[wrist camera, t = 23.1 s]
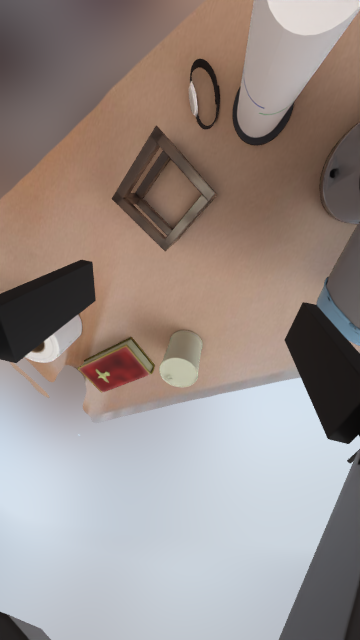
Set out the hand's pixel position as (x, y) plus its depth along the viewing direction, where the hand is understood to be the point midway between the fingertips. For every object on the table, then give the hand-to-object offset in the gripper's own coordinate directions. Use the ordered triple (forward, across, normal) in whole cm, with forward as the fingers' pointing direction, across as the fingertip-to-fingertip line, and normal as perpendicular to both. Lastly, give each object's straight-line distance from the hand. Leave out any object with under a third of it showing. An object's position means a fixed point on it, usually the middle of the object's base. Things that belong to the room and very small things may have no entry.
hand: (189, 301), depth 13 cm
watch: (+35, -5, +19) cm, 40 cm away
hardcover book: (+35, -21, -43) cm, 59 cm away
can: (+35, -1, -30) cm, 46 cm away
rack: (+35, -9, +5) cm, 36 cm away
